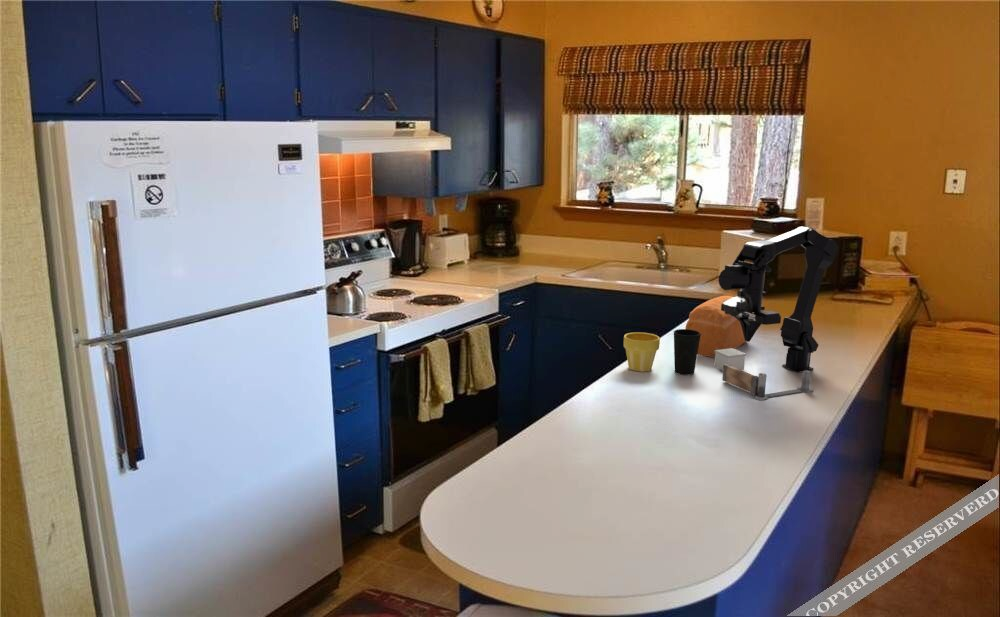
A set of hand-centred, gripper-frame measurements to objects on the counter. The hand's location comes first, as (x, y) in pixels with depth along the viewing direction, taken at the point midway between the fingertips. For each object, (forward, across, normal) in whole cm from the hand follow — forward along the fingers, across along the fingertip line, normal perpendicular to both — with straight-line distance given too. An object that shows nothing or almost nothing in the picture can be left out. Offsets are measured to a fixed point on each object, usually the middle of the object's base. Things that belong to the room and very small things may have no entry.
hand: (747, 341), depth 233 cm
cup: (+11, -10, -13) cm, 20 cm away
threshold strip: (+11, +16, 0) cm, 19 cm away
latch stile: (+11, +16, +8) cm, 20 cm away
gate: (+10, +8, -8) cm, 15 cm away
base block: (+11, -9, +2) cm, 14 cm away
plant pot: (+11, -18, -23) cm, 32 cm away
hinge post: (+11, +16, -8) cm, 21 cm away
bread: (+11, -29, +13) cm, 34 cm away
